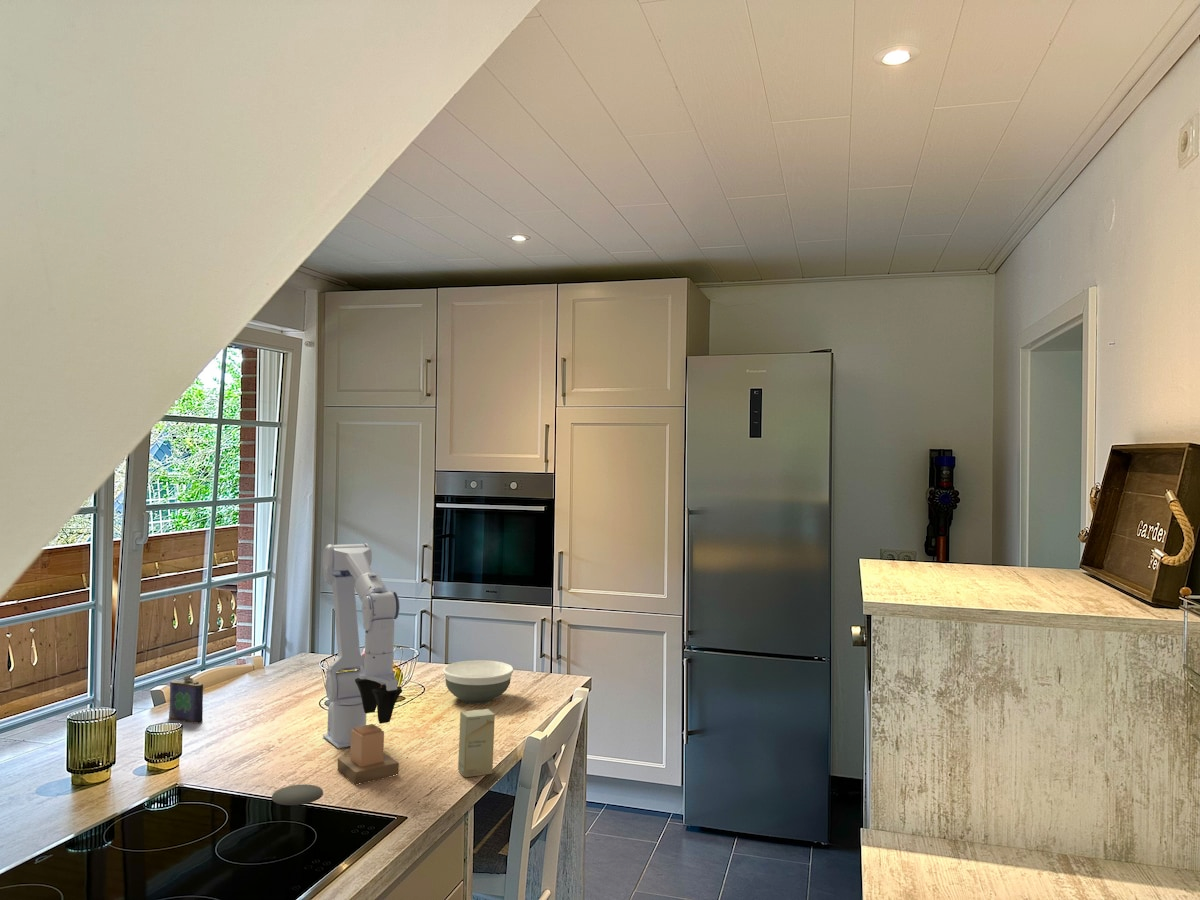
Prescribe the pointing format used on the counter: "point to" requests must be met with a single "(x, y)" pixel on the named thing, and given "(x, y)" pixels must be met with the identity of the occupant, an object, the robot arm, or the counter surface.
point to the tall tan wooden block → (367, 745)
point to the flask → (186, 700)
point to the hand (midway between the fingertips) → (376, 717)
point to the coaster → (297, 794)
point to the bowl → (478, 680)
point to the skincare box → (476, 742)
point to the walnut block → (368, 769)
